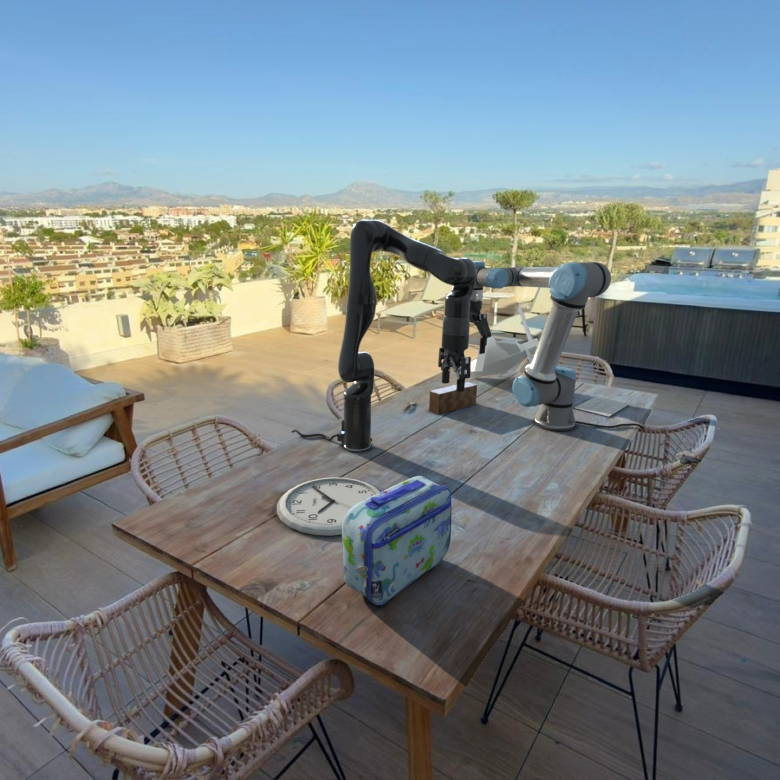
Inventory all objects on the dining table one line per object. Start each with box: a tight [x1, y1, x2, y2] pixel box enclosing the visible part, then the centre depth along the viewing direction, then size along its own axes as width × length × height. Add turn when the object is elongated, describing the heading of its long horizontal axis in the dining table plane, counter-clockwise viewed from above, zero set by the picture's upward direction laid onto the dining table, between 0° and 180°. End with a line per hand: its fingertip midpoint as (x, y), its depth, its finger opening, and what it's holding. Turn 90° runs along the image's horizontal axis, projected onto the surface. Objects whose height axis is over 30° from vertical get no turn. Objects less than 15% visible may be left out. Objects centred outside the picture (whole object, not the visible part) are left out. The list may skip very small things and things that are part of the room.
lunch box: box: [341, 475, 453, 606], centre depth 111 cm, size 26×11×21 cm, turn 134°
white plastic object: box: [470, 306, 540, 378], centre depth 258 cm, size 37×45×31 cm
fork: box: [403, 396, 419, 412], centre depth 222 cm, size 3×16×2 cm, turn 160°
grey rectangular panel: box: [573, 396, 629, 418], centre depth 226 cm, size 21×1×15 cm
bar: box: [428, 381, 478, 415], centre depth 221 cm, size 23×6×9 cm, turn 129°
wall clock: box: [276, 476, 382, 537], centre depth 142 cm, size 30×2×30 cm
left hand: (452, 387), depth 151 cm, fingers open, 8 cm apart
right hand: (469, 350), depth 220 cm, fingers open, 13 cm apart
